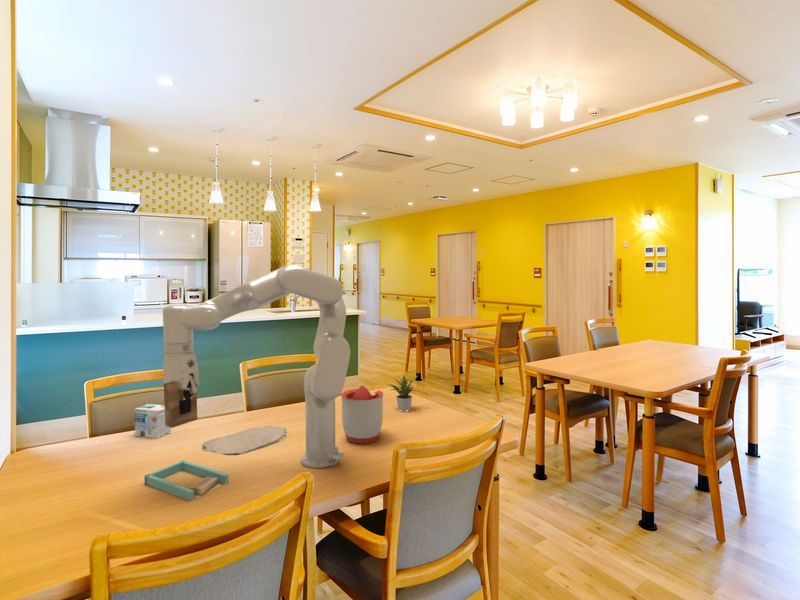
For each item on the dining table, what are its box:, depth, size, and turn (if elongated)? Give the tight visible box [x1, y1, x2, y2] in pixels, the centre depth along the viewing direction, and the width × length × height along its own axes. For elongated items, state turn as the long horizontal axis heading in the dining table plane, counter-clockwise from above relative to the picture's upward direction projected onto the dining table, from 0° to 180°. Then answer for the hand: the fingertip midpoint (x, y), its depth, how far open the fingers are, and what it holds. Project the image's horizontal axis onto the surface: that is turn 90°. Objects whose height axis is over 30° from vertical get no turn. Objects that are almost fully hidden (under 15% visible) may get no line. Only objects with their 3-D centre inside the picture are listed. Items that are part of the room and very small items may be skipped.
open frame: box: [144, 459, 229, 502], centre depth 127 cm, size 20×12×4 cm, turn 61°
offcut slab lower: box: [194, 483, 221, 498], centre depth 123 cm, size 4×8×2 cm, turn 155°
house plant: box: [387, 374, 419, 411], centre depth 201 cm, size 14×14×16 cm
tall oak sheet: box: [163, 383, 198, 429], centre depth 127 cm, size 3×8×12 cm, turn 151°
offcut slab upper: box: [189, 477, 219, 497], centre depth 123 cm, size 4×7×2 cm, turn 167°
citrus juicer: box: [340, 385, 384, 445], centre depth 165 cm, size 16×17×20 cm
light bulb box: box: [134, 403, 172, 439], centre depth 168 cm, size 11×7×11 cm, turn 76°
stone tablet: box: [201, 425, 287, 456], centre depth 161 cm, size 16×30×2 cm, turn 136°
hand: (181, 411), depth 127 cm, fingers closed on tall oak sheet, 3 cm apart
